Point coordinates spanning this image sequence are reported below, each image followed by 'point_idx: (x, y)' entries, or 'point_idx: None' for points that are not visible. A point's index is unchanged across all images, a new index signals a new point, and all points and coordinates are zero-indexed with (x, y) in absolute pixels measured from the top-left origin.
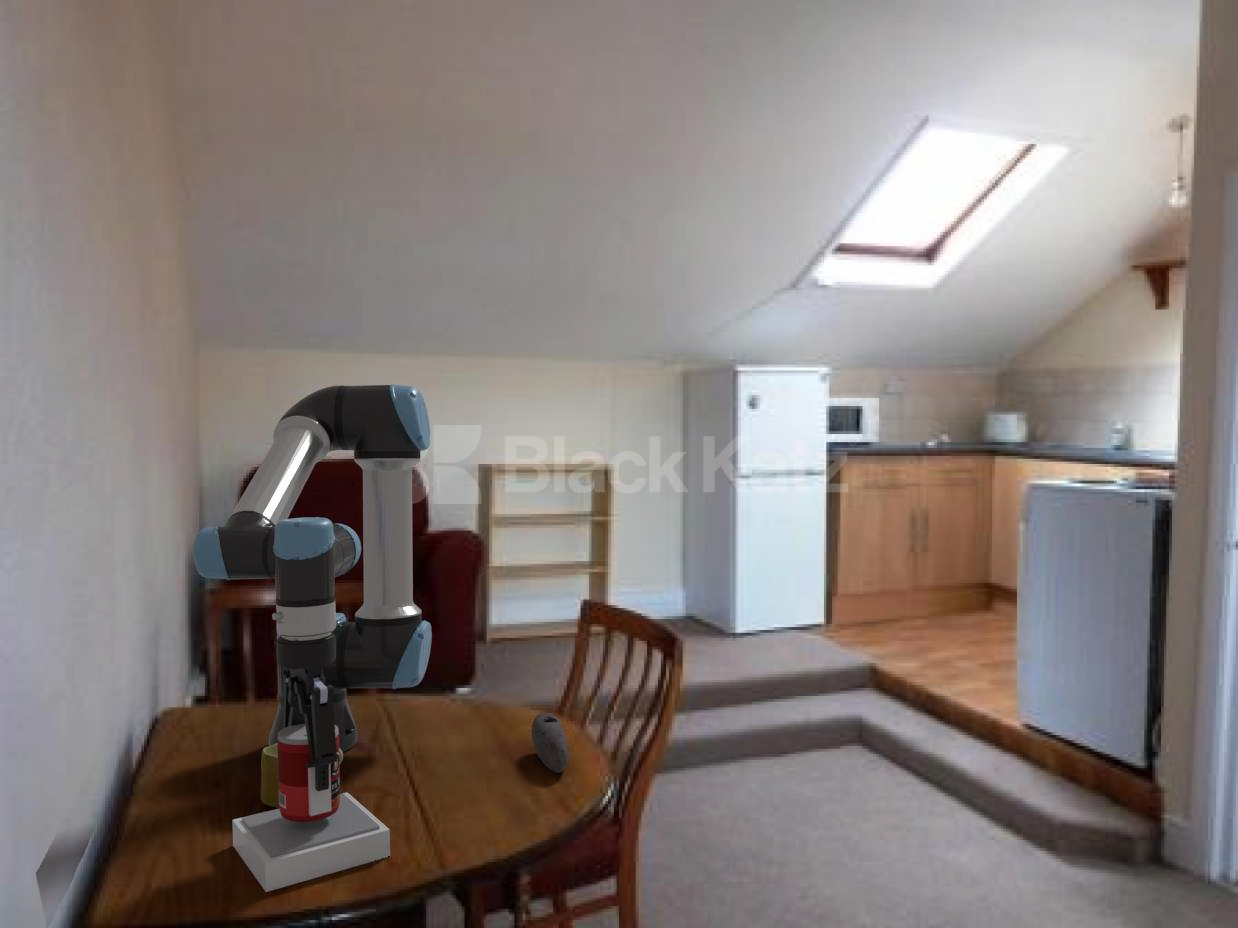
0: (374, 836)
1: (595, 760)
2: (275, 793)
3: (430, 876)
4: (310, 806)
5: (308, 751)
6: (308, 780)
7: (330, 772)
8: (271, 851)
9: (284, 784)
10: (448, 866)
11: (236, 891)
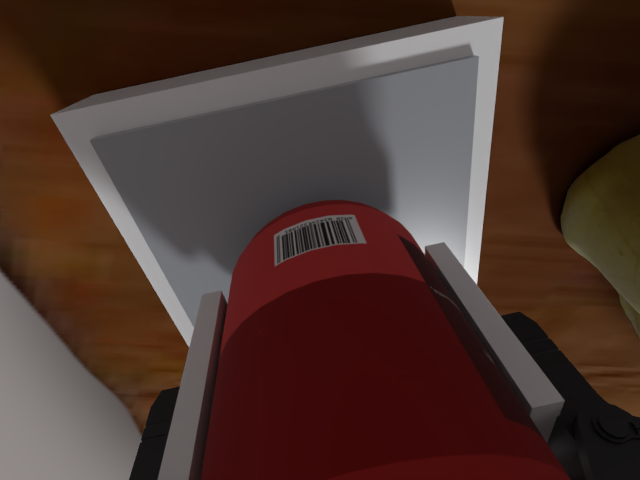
0: None
1: None
2: (634, 171)
3: (113, 380)
4: (199, 317)
5: None
6: (197, 399)
7: None
8: (118, 142)
9: (279, 296)
10: (147, 400)
11: (115, 3)
